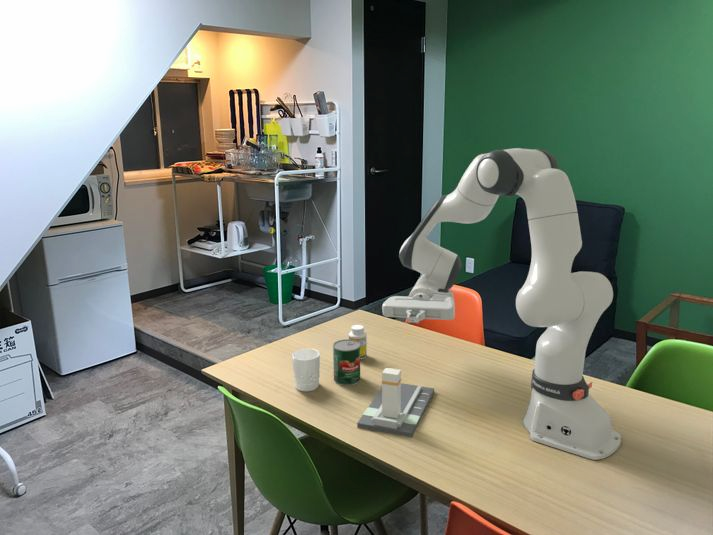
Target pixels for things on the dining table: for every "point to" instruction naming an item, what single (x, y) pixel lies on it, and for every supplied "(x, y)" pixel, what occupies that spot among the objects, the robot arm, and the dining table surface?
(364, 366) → the dining table surface
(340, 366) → the canned tomato
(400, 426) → the grey slider track base
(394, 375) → the fader
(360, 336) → the supplement bottle
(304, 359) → the white cup
